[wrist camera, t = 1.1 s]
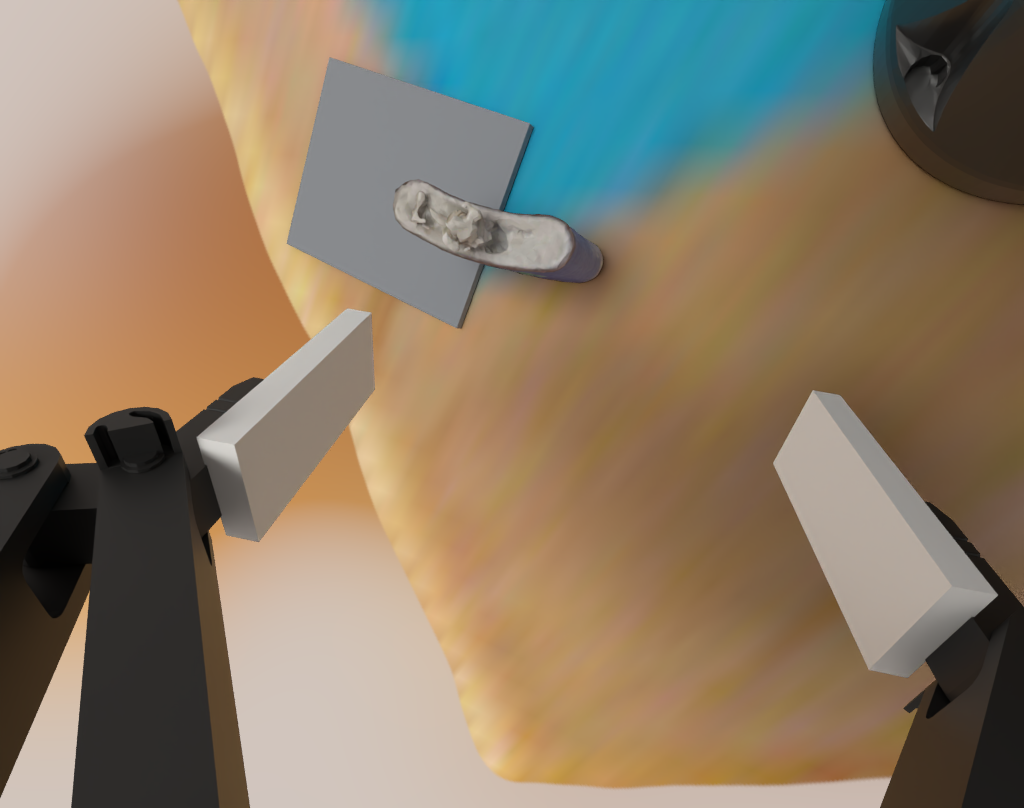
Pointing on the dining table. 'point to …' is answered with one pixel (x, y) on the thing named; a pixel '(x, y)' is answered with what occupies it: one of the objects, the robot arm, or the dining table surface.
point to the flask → (496, 235)
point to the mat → (399, 182)
